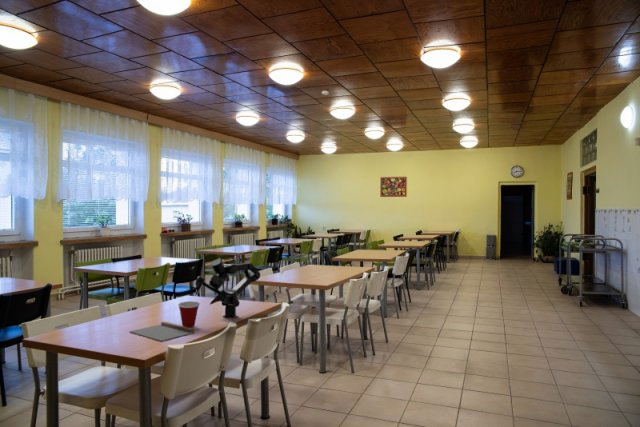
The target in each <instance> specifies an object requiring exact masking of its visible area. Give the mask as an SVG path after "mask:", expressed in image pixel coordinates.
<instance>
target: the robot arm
mask: <svg viewBox="0 0 640 427" xmlns="http://www.w3.org/2000/svg"><path fill="white" fill-rule="evenodd" d="M210 266H211V268H212V270H213V272H214V273H215V274H213V275H212V276H211V278H210V280H209V283H208V282H206V278H204V277H203V276H201V275H199V276H197V278H196V281H195V286H196V288H197V289H196V291H195V295H194V296H197V295H198V294H199V292H200V291H201V290H202V288H203V287H205V288H207V289H209V290H210V292H213V293H215V294H216V296H215V297H214V298H213V299H212V300H211V302H210V303H209V305H210V306H211V305H213V304H215V303H217V302H221V305H222V307H224V306H225V307H224V315H222V318H227V317H233V316H236V315H237V313H236V312H237V307H239V306H240V301H239V297H238V296H239V295H240V294H242V292H243V291H244V290H245V289H247V287H248V286H249V285H251V283H255V282H257V281H258V280H260V277H261V272H260V271H259V269H258V268H257V267H256V266H254V264H253V263H251V262H243V263H237V264H236V263H235V264H232V263H224V262H223V259H222V258H217V259H215V260H213V261H211V262H210ZM241 271H243V273H244V277H243V279H241V280H240V281H239V282H238V283H237V284H236V285H235V286H234V287H233V288H231V289H230V288H227V289H225V290H224V289H222V290H219V289H220V288H221V287H222V286H223V285H224V284H225V283H226V282H230V276H229V275H235V274H237V273H238V272H241ZM236 317H237V316H236Z"/></svg>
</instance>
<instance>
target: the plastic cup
mask: <svg viewBox="0 0 640 427" xmlns="http://www.w3.org/2000/svg"><path fill="white" fill-rule="evenodd" d="M200 304H201V303H200V302H197V301H193V300H192V301H183V302H179V303H178V304H177V306H178V309H179V312H180V319H181V320H180V321H181V326H185V327H189V328H194V327H195V325H196V319H197V315H198V310H199V306H200Z"/></svg>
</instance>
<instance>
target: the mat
mask: <svg viewBox="0 0 640 427" xmlns="http://www.w3.org/2000/svg"><path fill="white" fill-rule="evenodd" d="M128 333H131V334H133V335H134V334H135V335H137V336H141V337H144V338H147V339H151V340H154V341H159V342H160V343H162V342H165V341H170V340H174V339H178V338H181V337H185V336H188V335H189V336H190V335H193V333H190V332H187V331H183V330H179V329H175V328H171V327H167V326H163V325H161V324H157V325H151V326H148V327H144V328H143V327H142V328H139V329H134V330H130V331H129V332H128Z"/></svg>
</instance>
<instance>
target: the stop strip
mask: <svg viewBox="0 0 640 427" xmlns="http://www.w3.org/2000/svg"><path fill="white" fill-rule="evenodd" d="M160 325H163V326H167V327H171V328H175V329H179V330H183V331H187V332H190V333H192V334H194V333H195V328H194V327H191V328H189V327H185V326H183V325H182V324H176V323H172V322H168V321H165V320H164V321H161V322H160Z"/></svg>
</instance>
